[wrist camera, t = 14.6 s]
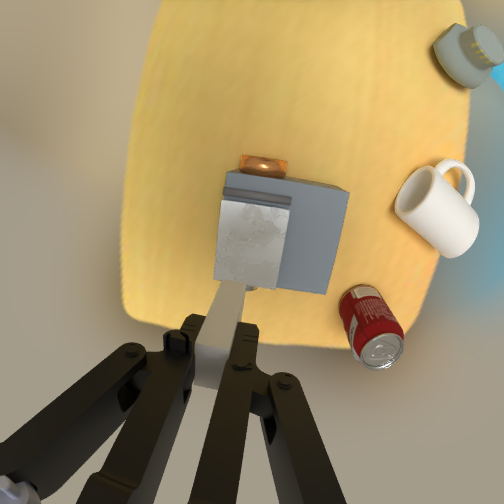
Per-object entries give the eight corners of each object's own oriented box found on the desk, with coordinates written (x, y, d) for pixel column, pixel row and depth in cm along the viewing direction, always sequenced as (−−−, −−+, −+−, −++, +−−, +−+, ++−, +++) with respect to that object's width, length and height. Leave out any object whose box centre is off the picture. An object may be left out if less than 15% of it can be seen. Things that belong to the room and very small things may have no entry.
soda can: (347, 278, 38) (371, 324, 27) (387, 288, 38) (418, 334, 27) (331, 317, 40) (345, 370, 29) (369, 325, 40) (391, 376, 29)
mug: (431, 247, 35) (458, 267, 28) (386, 209, 35) (411, 223, 27) (468, 184, 32) (501, 192, 24) (427, 141, 31) (458, 140, 23)
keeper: (223, 198, 29) (221, 199, 28) (289, 208, 29) (289, 210, 28) (214, 276, 32) (213, 279, 31) (275, 286, 32) (275, 289, 31)
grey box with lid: (236, 169, 35) (225, 172, 28) (336, 186, 34) (351, 193, 27) (225, 257, 39) (213, 279, 32) (318, 272, 38) (326, 297, 31)
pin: (244, 154, 33) (238, 154, 28) (286, 161, 33) (288, 161, 28) (229, 273, 39) (222, 291, 34) (266, 280, 38) (265, 298, 33)
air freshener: (457, 98, 27) (498, 89, 18) (420, 56, 26) (455, 35, 17) (481, 63, 24) (518, 52, 15) (448, 25, 23) (480, 5, 14)
